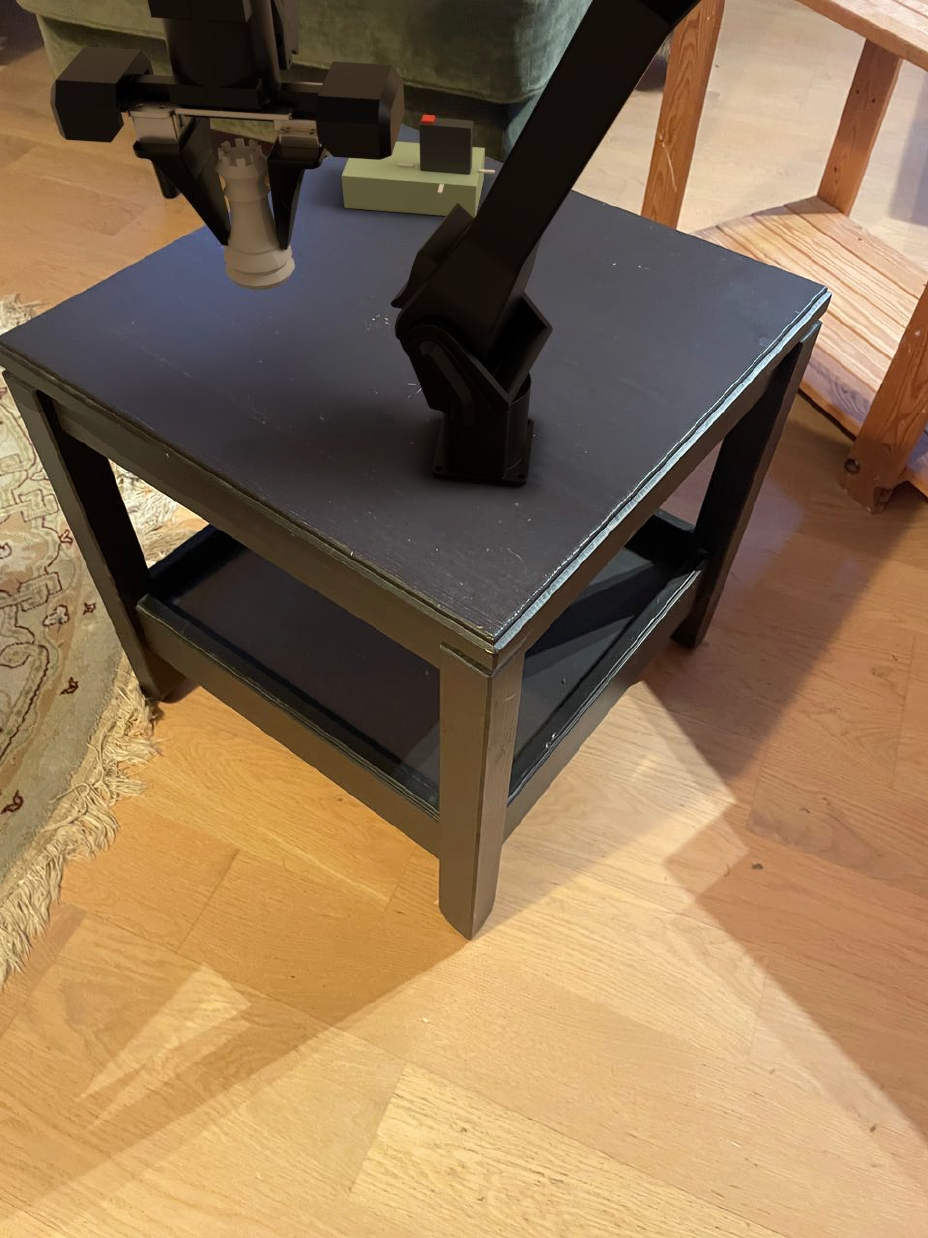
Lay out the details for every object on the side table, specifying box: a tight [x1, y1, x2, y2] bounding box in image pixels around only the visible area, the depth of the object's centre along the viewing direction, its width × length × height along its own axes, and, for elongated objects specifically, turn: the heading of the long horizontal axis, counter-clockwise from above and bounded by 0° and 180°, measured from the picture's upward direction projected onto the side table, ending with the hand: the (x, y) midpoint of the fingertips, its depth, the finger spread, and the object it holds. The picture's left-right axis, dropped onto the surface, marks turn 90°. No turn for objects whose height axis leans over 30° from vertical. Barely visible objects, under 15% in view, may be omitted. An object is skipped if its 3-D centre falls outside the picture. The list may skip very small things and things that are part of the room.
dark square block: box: [418, 114, 474, 174], centre depth 81 cm, size 4×1×4 cm, turn 82°
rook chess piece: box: [215, 137, 296, 291], centre depth 57 cm, size 4×4×8 cm
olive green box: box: [341, 140, 496, 218], centre depth 84 cm, size 9×13×3 cm, turn 83°
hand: (256, 244), depth 58 cm, fingers closed on rook chess piece, 3 cm apart
